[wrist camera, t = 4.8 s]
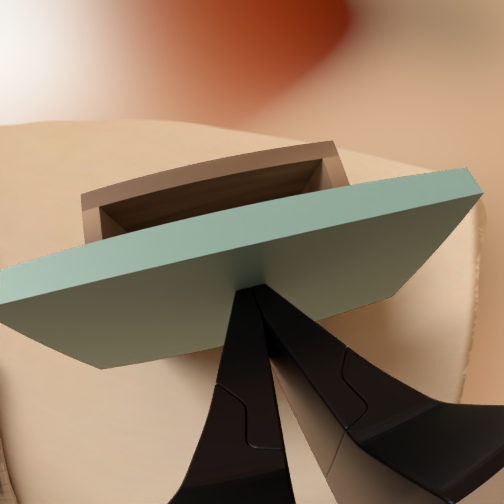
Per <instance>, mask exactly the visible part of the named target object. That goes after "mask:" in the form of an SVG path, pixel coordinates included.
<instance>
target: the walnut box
mask: <svg viewBox="0 0 504 504" xmlns="http://www.w3.org/2000/svg"><path fill="white" fill-rule="evenodd" d="M349 185H350V184H349V182H348V179H347V176H346V173H345V171H344V168H343V165H342V162H341V160H340V157H339V155H338V152H337V149H336V147H335V144H334V142H333V141H326V142H318V143H310V144H303V145H296V146H289V147H282V148H276V149H270V150H264V151H258V152H253V153H247V154H242V155H236V156H231V157H226V158H221V159H216V160H211V161H206V162H202V163H197V164H193V165H188V166H184V167H180V168H175V169H171V170H167V171H163V172H159V173H155V174H151V175H147V176H143V177H139V178H136V179H132V180H128V181H124V182H121V183H117V184H114V185H110V186H107V187H103V188H100V189H97V190H93V191H90V192H87V193H84V194H81V204H82V217H83V228H84V238H85V244H89V243H93V242H96V241H100V240H104V239H108V238H111V237H115V236H119V235H123V234H127V233H131V232H135V231H139V230H143V229H147V228H151V227H155V226H159V225H163V224H167V223H171V222H175V221H179V220H184V219H188V218H192V217H197V216H201V215H205V214H210V213H214V212H219V211H223V210H228V209H232V208H237V207H241V206H246V205H251V204H256V203H260V202H265V201H270V200H275V199H280V198H285V197H290V196H295V195H300V194H306V193H311V192H316V191H321V190H327V189H332V188H338V187H344V186H349Z"/></svg>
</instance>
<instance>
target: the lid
mask: <svg viewBox="0 0 504 504" xmlns="http://www.w3.org/2000/svg"><path fill="white" fill-rule="evenodd" d="M482 194H483V191H482V189H481V188H480V186H479V185H478V183H477V182H476V180H475V179H474V178H473V176H472V175H471V173H470V172H469V170H468V169H467V168H461V169H453V170H445V171H438V172H431V173H424V174H417V175H411V176H404V177H398V178H391V179H385V180H379V181H373V182H367V183H361V184H355V185H349V186H344V187H338V188H332V189H327V190H321V191H316V192H311V193H306V194H300V195H295V196H290V197H285V198H280V199H275V200H270V201H265V202H260V203H256V204H251V205H246V206H241V207H237V208H232V209H228V210H223V211H219V212H214V213H210V214H205V215H201V216H197V217H192V218H188V219H184V220H179V221H175V222H171V223H167V224H163V225H159V226H155V227H151V228H147V229H143V230H139V231H135V232H131V233H127V234H123V235H119V236H115V237H111V238H108V239H104V240H100V241H96V242H93V243H89V244H85V245H82V246H78V247H75V248H71V249H68V250H64V251H61V252H57V253H54V254H50V255H47V256H43V257H40V258H37V259H33V260H30V261H27V262H23V263H20V264H17V265H14V266H10V267H7V268H4V269H1V270H0V323H2V324H4V325H6V326H8V327H10V328H11V329H13V330H15V331H17V332H19V333H21V334H23V335H25V336H27V337H29V338H31V339H33V340H35V341H37V342H39V343H41V344H43V345H45V346H47V347H49V348H52V349H54V350H56V351H58V352H60V353H63V354H65V355H67V356H69V357H72V358H74V359H77V360H79V361H81V362H84V363H86V364H89V365H91V366H94V367H96V368H99V369H107V368H114V367H120V366H126V365H132V364H137V363H143V362H148V361H154V360H159V359H164V358H169V357H174V356H179V355H184V354H189V353H193V352H198V351H203V350H207V349H212V348H216V347H220V346H224V341H225V336H226V332H227V327H228V322H229V318H230V313H231V309H232V304H233V299H234V295H235V291H237V290H241V289H245V288H251V287H253V286H257V285H261V284H267V285H268V286H269V287H271V288H272V289H273V290H275V291H276V292H277V293H279V294H280V295H281V296H282V297H284V298H285V299H286V300H288V301H289V302H290V303H291V304H293V305H294V306H295V307H297V308H298V309H299V310H300V311H302V312H303V313H304V314H306V315H307V316H308V317H310V318H311V319H312V320H313V321H318V320H321V319H325V318H328V317H331V316H335V315H338V314H341V313H344V312H347V311H350V310H353V309H357V308H360V307H363V306H366V305H369V304H372V303H375V302H378V301H380V300H383V299H386V298H389V297H392V296H393V295H394V294H395V293H396V292H397V291H398V290H399V289H400V288H401V287H402V286H403V285H404V284H405V283H406V282H407V281H408V280H409V279H410V278H411V277H412V276H413V275H414V274H415V272H416V271H417V270H418V269H419V268H420V267H421V266H422V265H423V264H424V263H425V262H426V261H427V260H428V259H429V257H430V256H431V255H432V254H433V253H434V252H435V251H436V250H437V249H438V247H439V246H440V245H441V244H442V243H443V242H444V241H445V240H446V238H447V237H448V236H449V235H450V234H451V233H452V231H453V230H454V229H455V228H456V227H457V226H458V224H459V223H460V222H461V221H462V220H463V218H464V217H465V216H466V215H467V213H468V212H469V211H470V210H471V208H472V207H473V206H474V205H475V203H476V202H477V201H478V200H479V198H480V197H481V196H482Z"/></svg>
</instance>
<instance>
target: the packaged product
mask: <svg viewBox="0 0 504 504" xmlns="http://www.w3.org/2000/svg"><path fill="white" fill-rule="evenodd" d="M0 504H18V503H17V499H16V496H15V494H14V491H13V488H12V486H11V483H10V479H9V474H8V470H7V466H6V462H5V457H4V452H3V447H2V442H1V437H0Z"/></svg>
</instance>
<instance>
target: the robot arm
mask: <svg viewBox="0 0 504 504" xmlns="http://www.w3.org/2000/svg"><path fill="white" fill-rule="evenodd" d="M270 363H271V364H270ZM271 365H272V367H273V370H274V372H275V374H276V376H277V378H278V380H279V383H280V385H281V387H282V389H283V391H284V393H285V395H286V398H287V400H288V402H289V404H290V406H291V408H292V410H293V413H294V415H295V417H296V419H297V421H298V423H299V425H300V427H301V429H302V431H303V434H304V436H305V438H306V440H307V442H308V444H309V446H310V448H311V450H312V452H313V454H314V456H315V458H316V460H317V462H318V464H319V467H320V469H321V471H322V473H323V475H324V477H325V478H326V481H327V483H328V485H329V487H330V489H331V491H332V493H333V495H334V497H335V499H336V501H337V503H338V504H504V405H473V404H455V403H446V402H442V401H438V400H435V399H433V398H430V397H428V396H426V395H424V394H422V393H421V392H419V391H417V390H415V389H413V388H412V387H410V386H408V385H406V384H405V383H403V382H401V381H399V380H397V379H396V378H394V377H392V376H390V375H389V374H387V373H385V372H384V371H382V370H380V369H379V368H377V367H376V366H374V365H372V364H371V363H370V362H368V361H367V360H365V359H364V358H362V357H361V356H360V355H358V354H357V353H356V352H354V351H353V350H352V349H350V348H349V347H347V346H346V345H345V344H344V343H342V342H341V341H340V340H338V339H337V338H336V337H334V336H333V335H332V334H330V333H329V332H328V331H327V330H325V329H324V328H323V327H321V326H320V325H319V324H317V323H316V322H315V321H313V320H312V319H311V318H310V317H308V316H307V315H306V314H304V313H303V312H302V311H300V310H299V309H298V308H297V307H295V306H294V305H293V304H291V303H290V302H289V301H288V300H286V299H285V298H284V297H282V296H281V295H280V294H279V293H277V292H276V291H275V290H273V289H272V288H271V287H269V286H268V285H267V284H261V285H257V286H253V287H251V288H245V289H241V290H237V291H235V295H234V299H233V304H232V309H231V313H230V318H229V322H228V327H227V332H226V336H225V341H224V346H223V351H222V355H221V360H220V365H219V369H218V374H217V379H216V385H215V388H214V392H213V397H212V401H211V405H210V409H209V413H208V416H207V419H206V422H205V425H204V428H203V431H202V434H201V437H200V439H199V442H198V445H197V447H196V450H195V453H194V455H193V458H192V460H191V463H190V466H189V468H188V471H187V473H186V476H185V478H184V480H183V482H182V484H181V486H180V488H179V489H178V491H177V492H176V494H175V495H174V496H173V498H172V499H171V500H170V501H169V502H168V504H296V502H295V497H294V493H293V488H292V483H291V478H290V473H289V468H288V462H287V457H286V452H285V445H284V439H283V433H282V428H281V422H280V416H279V410H278V405H277V399H276V393H275V387H274V381H273V376H272V370H271Z"/></svg>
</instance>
